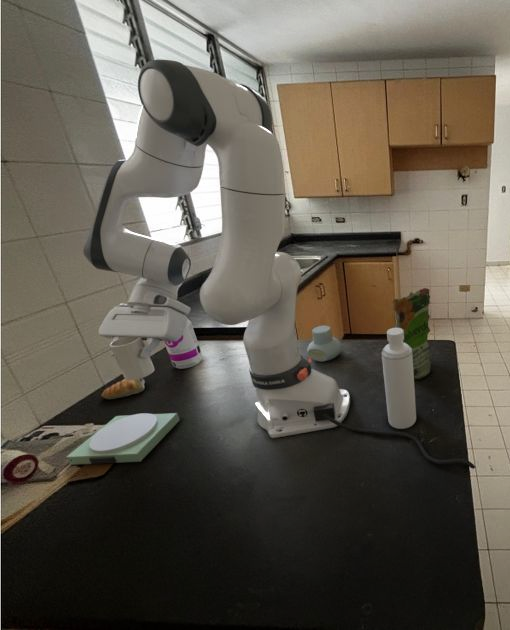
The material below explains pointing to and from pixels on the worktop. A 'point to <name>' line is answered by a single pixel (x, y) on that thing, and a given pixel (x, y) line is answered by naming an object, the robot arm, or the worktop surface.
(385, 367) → the white bottle
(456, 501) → the worktop surface
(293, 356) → the robot arm
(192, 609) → the worktop surface
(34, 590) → the worktop surface
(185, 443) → the worktop surface
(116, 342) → the cup
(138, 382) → the pastry
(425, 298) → the pouch
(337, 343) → the air freshener
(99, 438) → the scale
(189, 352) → the supplement can
